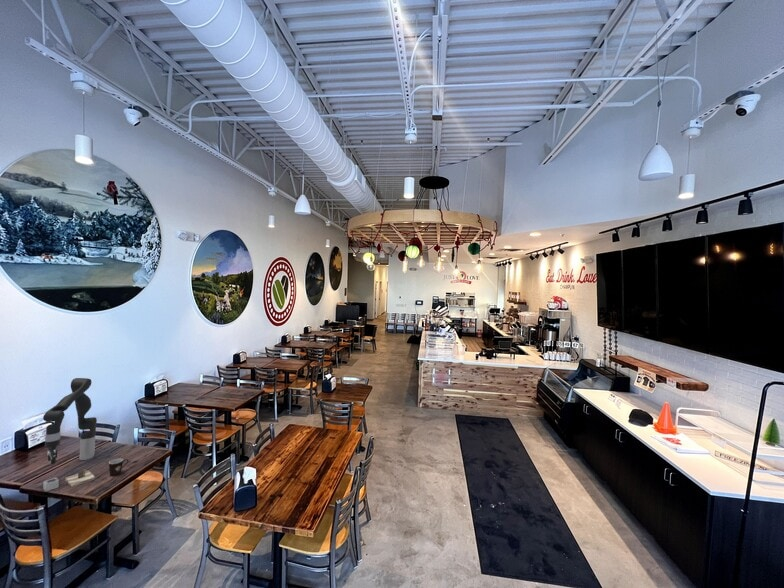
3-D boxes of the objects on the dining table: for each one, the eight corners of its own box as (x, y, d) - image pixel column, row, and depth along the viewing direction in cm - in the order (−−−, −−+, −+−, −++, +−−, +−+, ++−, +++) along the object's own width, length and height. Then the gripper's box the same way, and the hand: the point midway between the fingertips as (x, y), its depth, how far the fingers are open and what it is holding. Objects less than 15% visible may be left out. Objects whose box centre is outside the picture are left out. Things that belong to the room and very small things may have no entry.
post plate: (65, 479, 242) (65, 470, 242) (88, 472, 252) (88, 463, 253) (71, 487, 233) (71, 478, 233) (95, 479, 244) (95, 470, 244)
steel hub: (43, 488, 230) (43, 481, 230) (55, 484, 236) (56, 477, 236) (45, 491, 227) (45, 484, 227) (58, 487, 232) (58, 480, 232)
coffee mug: (107, 478, 245) (108, 465, 245) (108, 473, 252) (109, 460, 252) (127, 474, 252) (127, 461, 252) (128, 469, 259) (128, 456, 259)
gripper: (62, 440, 231) (61, 463, 231) (57, 434, 239) (56, 457, 238) (47, 443, 225) (46, 467, 224) (42, 438, 232) (41, 461, 232)
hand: (51, 462), depth 231 cm, fingers open, 8 cm apart
